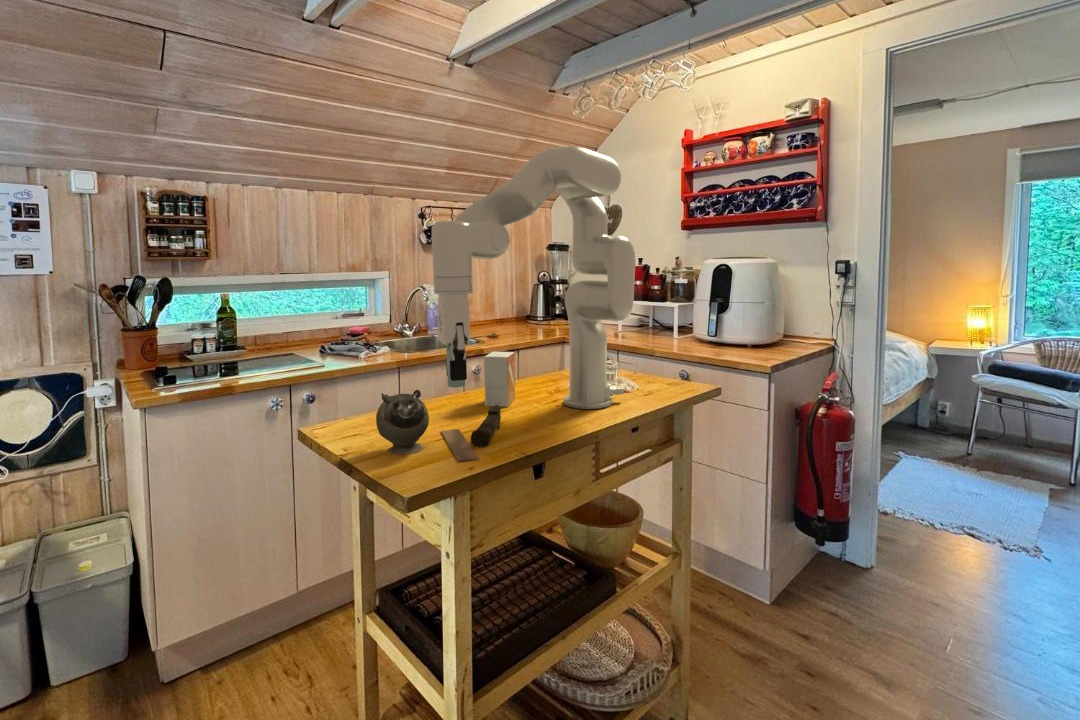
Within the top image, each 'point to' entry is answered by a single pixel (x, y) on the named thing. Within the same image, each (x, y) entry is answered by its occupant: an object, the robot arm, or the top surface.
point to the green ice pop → (450, 383)
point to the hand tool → (486, 428)
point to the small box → (499, 378)
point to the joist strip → (459, 445)
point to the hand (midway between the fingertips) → (456, 377)
